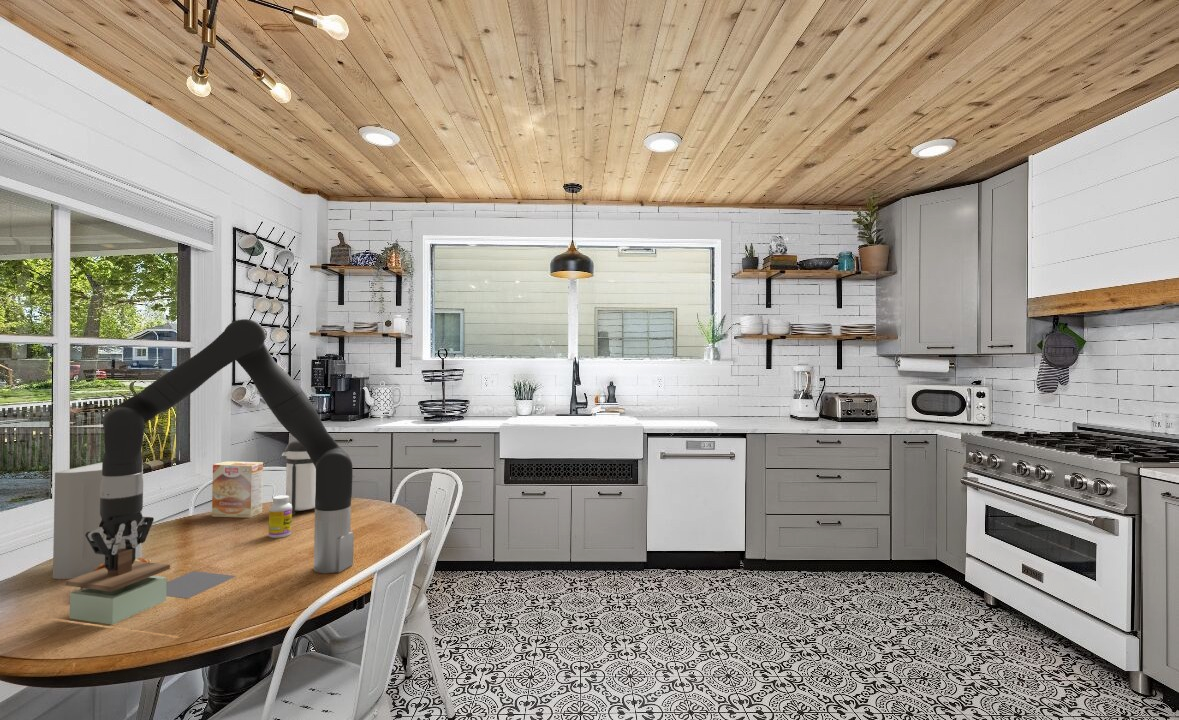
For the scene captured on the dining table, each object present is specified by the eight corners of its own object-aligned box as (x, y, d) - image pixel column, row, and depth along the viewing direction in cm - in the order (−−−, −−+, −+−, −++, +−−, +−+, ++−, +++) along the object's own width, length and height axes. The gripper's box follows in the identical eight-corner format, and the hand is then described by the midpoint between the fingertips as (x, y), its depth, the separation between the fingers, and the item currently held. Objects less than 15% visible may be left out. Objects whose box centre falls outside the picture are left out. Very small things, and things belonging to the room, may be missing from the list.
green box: (166, 602, 128) (166, 577, 128) (112, 626, 116) (112, 598, 116) (126, 596, 130) (126, 572, 130) (69, 619, 119) (69, 593, 119)
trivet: (236, 577, 143) (236, 575, 143) (187, 600, 129) (187, 598, 129) (193, 572, 146) (193, 571, 146) (141, 594, 132) (141, 592, 132)
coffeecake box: (210, 517, 196) (211, 464, 196) (224, 511, 203) (225, 460, 203) (250, 518, 196) (251, 465, 196) (262, 512, 203) (263, 461, 203)
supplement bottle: (284, 538, 174) (284, 499, 174) (264, 538, 174) (264, 499, 174) (295, 532, 180) (296, 494, 180) (276, 531, 181) (277, 494, 181)
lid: (169, 569, 128) (170, 544, 128) (111, 591, 116) (112, 563, 116) (126, 563, 131) (127, 539, 131) (65, 585, 118) (65, 558, 118)
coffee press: (310, 517, 197) (311, 436, 197) (271, 514, 200) (273, 435, 200) (339, 505, 214) (340, 431, 215) (303, 502, 217) (304, 429, 217)
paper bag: (107, 578, 141) (109, 473, 141) (50, 578, 140) (52, 472, 140) (164, 552, 160) (165, 460, 160) (113, 552, 159) (115, 459, 160)
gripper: (101, 501, 116) (99, 580, 116) (164, 487, 130) (163, 557, 129) (74, 499, 117) (72, 577, 117) (140, 485, 131) (138, 555, 131)
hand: (120, 566), depth 123 cm, fingers closed on lid, 3 cm apart
